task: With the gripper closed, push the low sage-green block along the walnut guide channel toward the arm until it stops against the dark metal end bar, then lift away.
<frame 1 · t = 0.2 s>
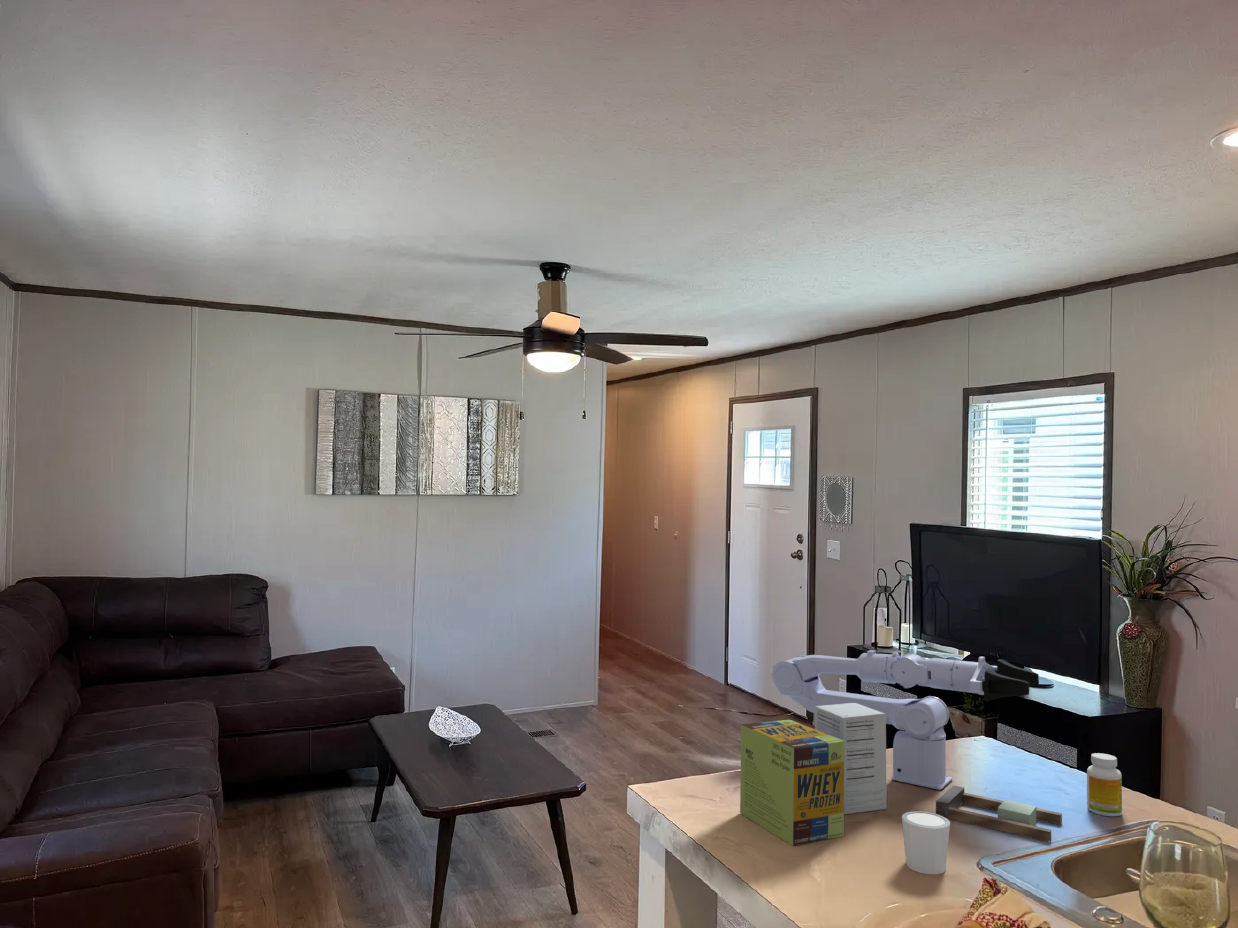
hand: (1033, 683, 155), 22 cm above the counter, tool horizontal, fingers open, 7 cm apart
guide channel: (998, 818, 147), on the counter
supplement bottle: (1104, 812, 151), on the counter
supplement box: (850, 804, 153), on the counter
protein box: (790, 826, 143), on the counter
white cup: (925, 867, 128), on the counter
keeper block: (1017, 824, 145), resting in guide channel
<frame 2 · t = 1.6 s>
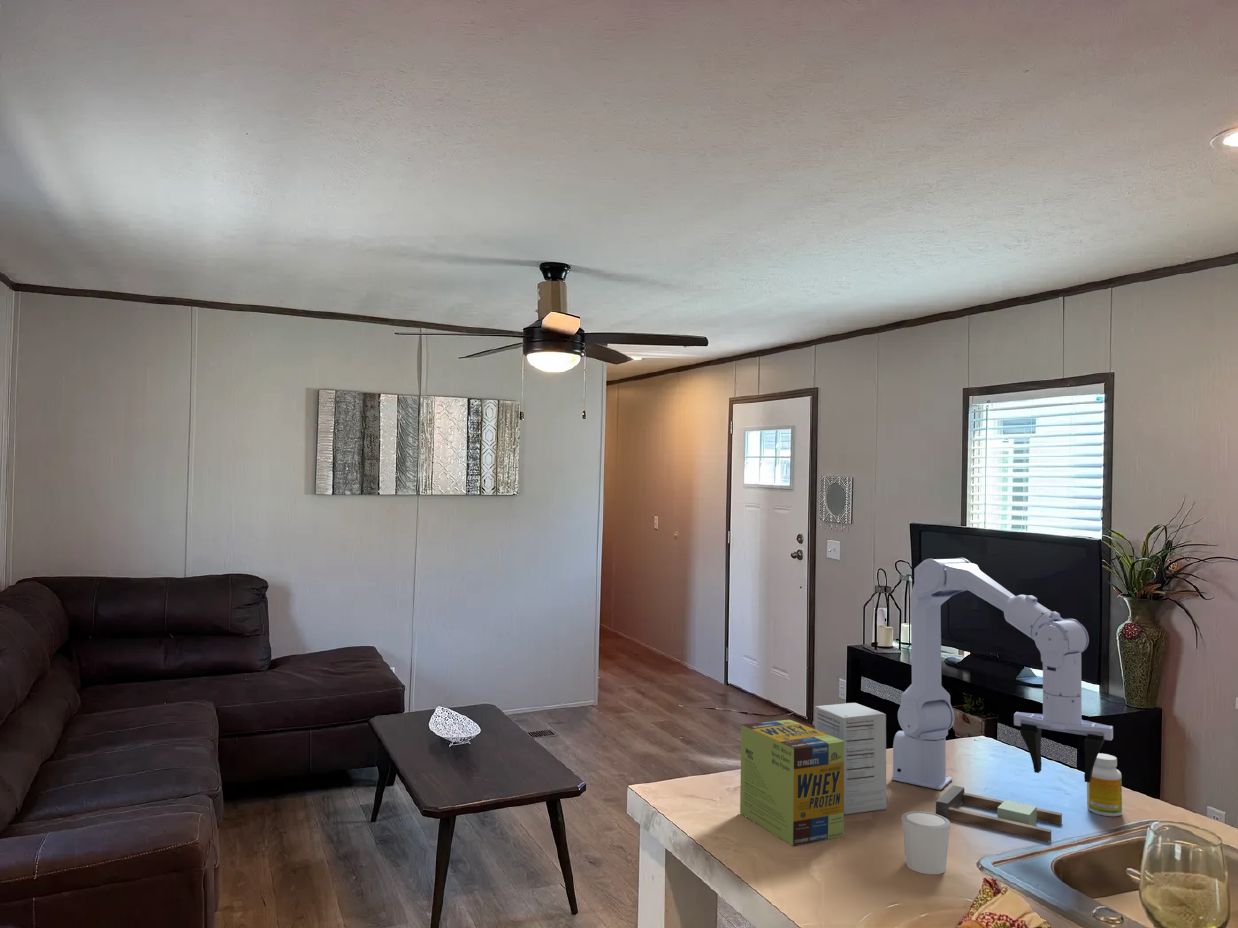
hand: (1062, 775, 141), 9 cm above the counter, tool pointing down, fingers open, 7 cm apart
nothing on the counter moved.
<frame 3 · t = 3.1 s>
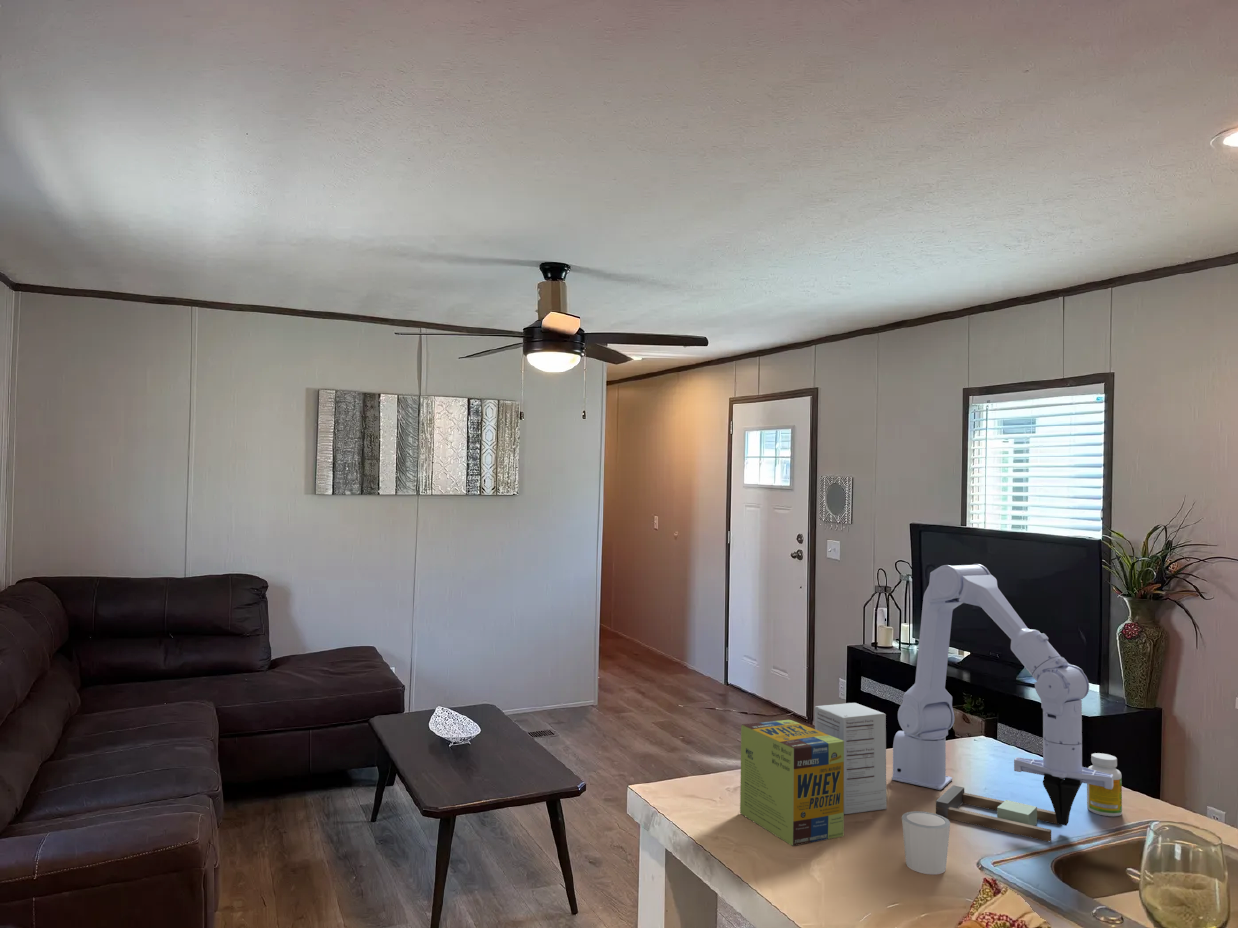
hand: (1062, 822, 141), 2 cm above the counter, tool pointing down, fingers closed
nothing on the counter moved.
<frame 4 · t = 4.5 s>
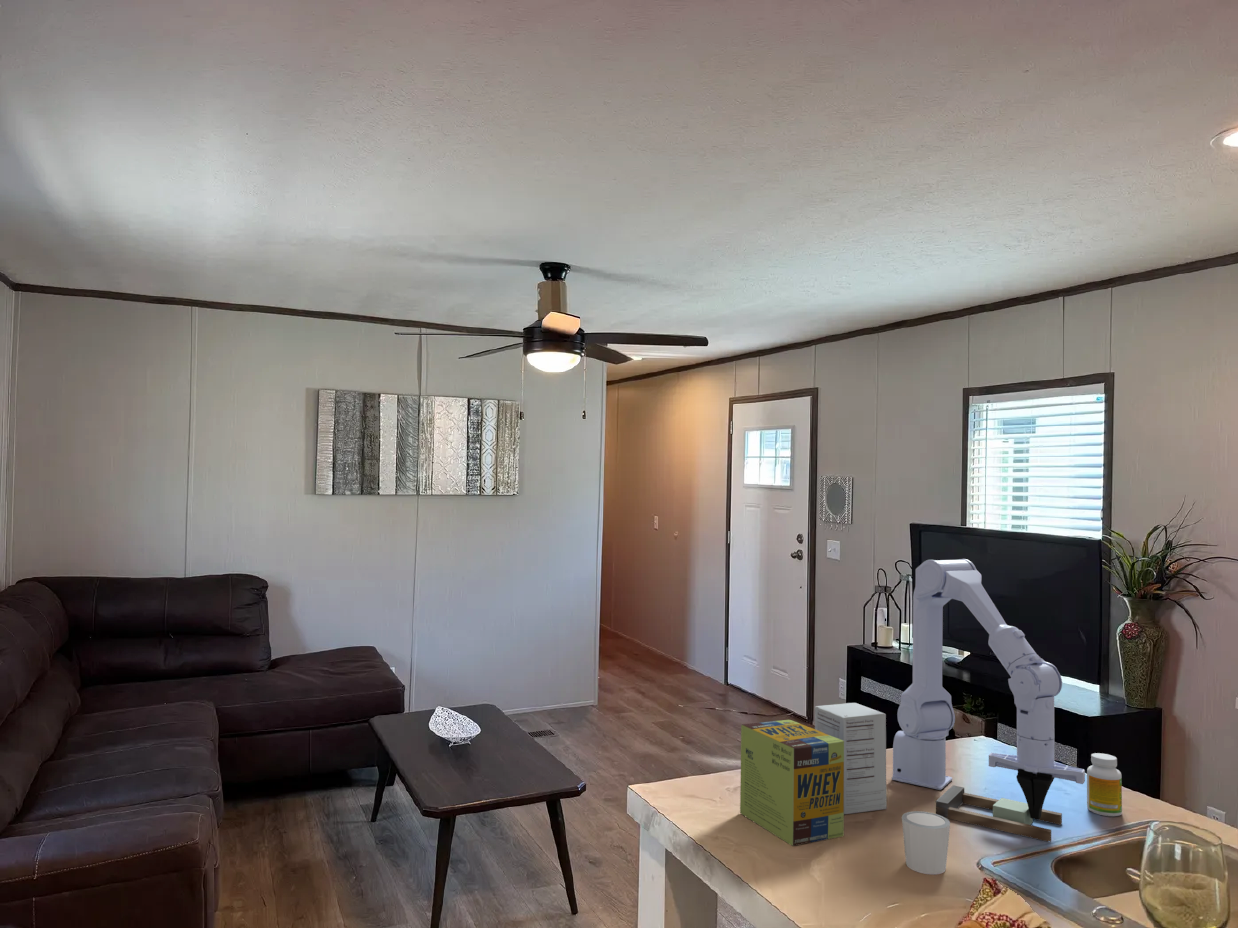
hand: (1035, 817, 143), 2 cm above the counter, tool pointing down, fingers closed
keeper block: (1012, 822, 145), resting in guide channel, touching gripper
everything else where it was.
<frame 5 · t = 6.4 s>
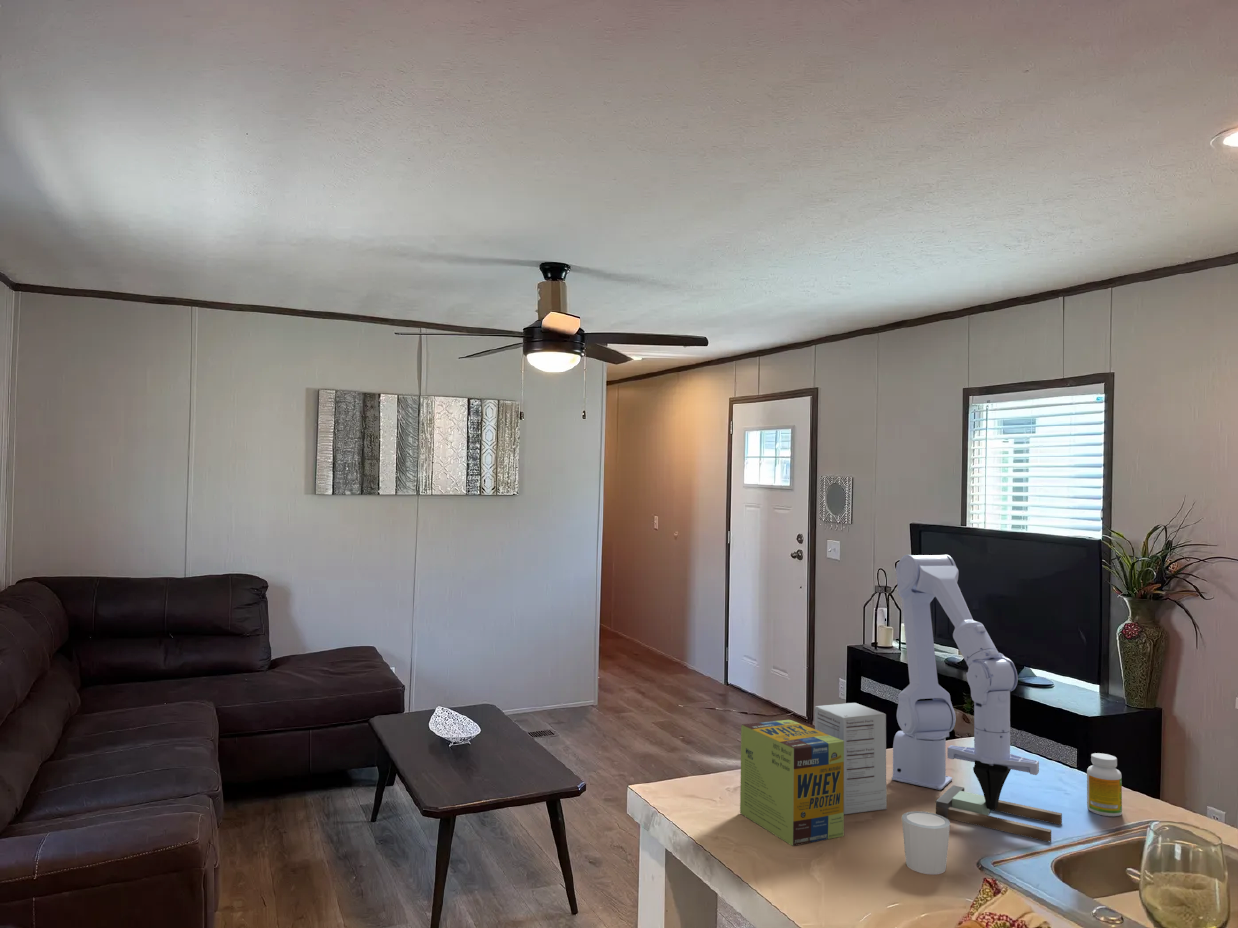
hand: (992, 807, 147), 2 cm above the counter, tool pointing down, fingers closed
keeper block: (970, 814, 149), resting in guide channel
everything else where it was.
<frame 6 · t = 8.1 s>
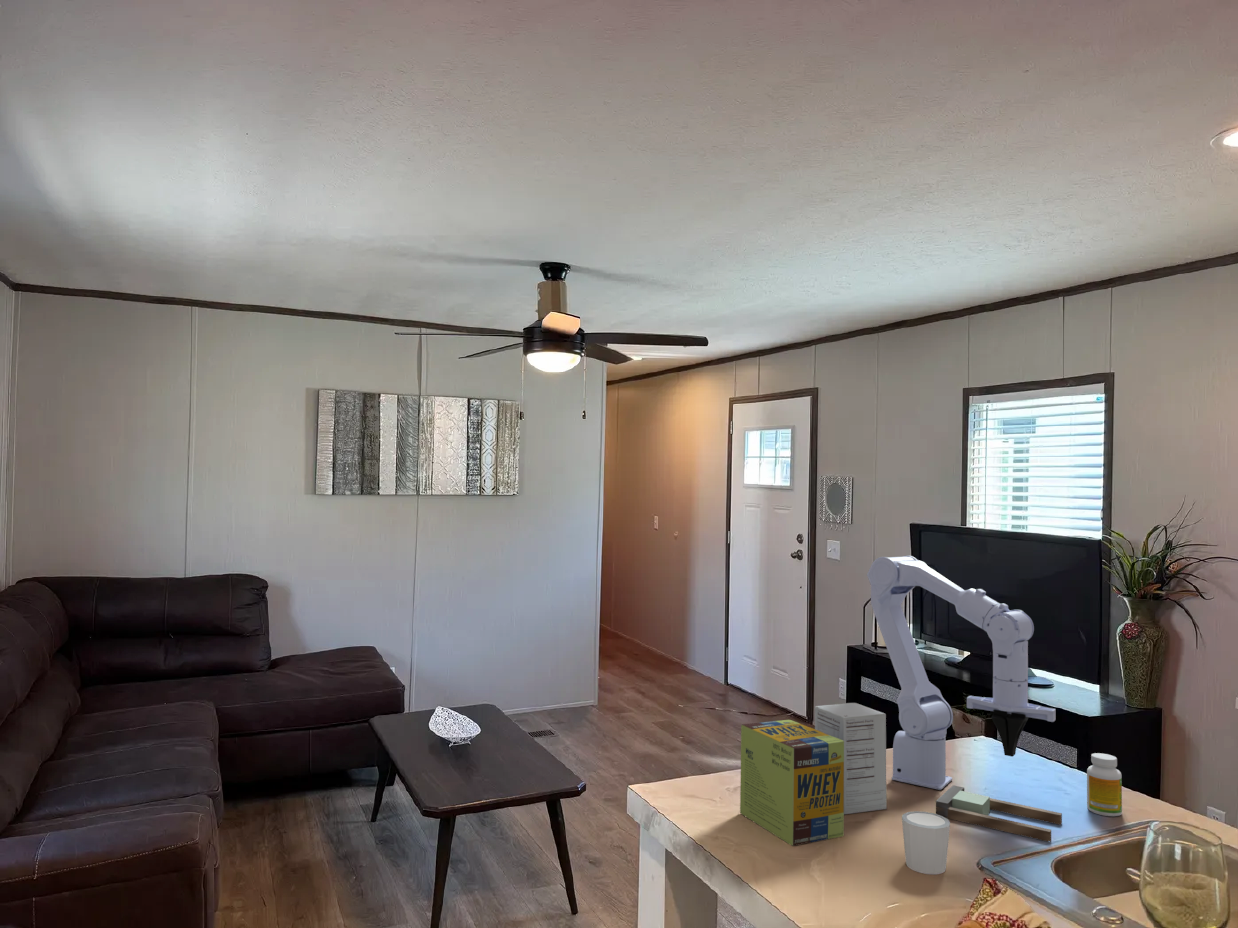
hand: (1009, 754, 153), 9 cm above the counter, tool pointing down, fingers closed
nothing on the counter moved.
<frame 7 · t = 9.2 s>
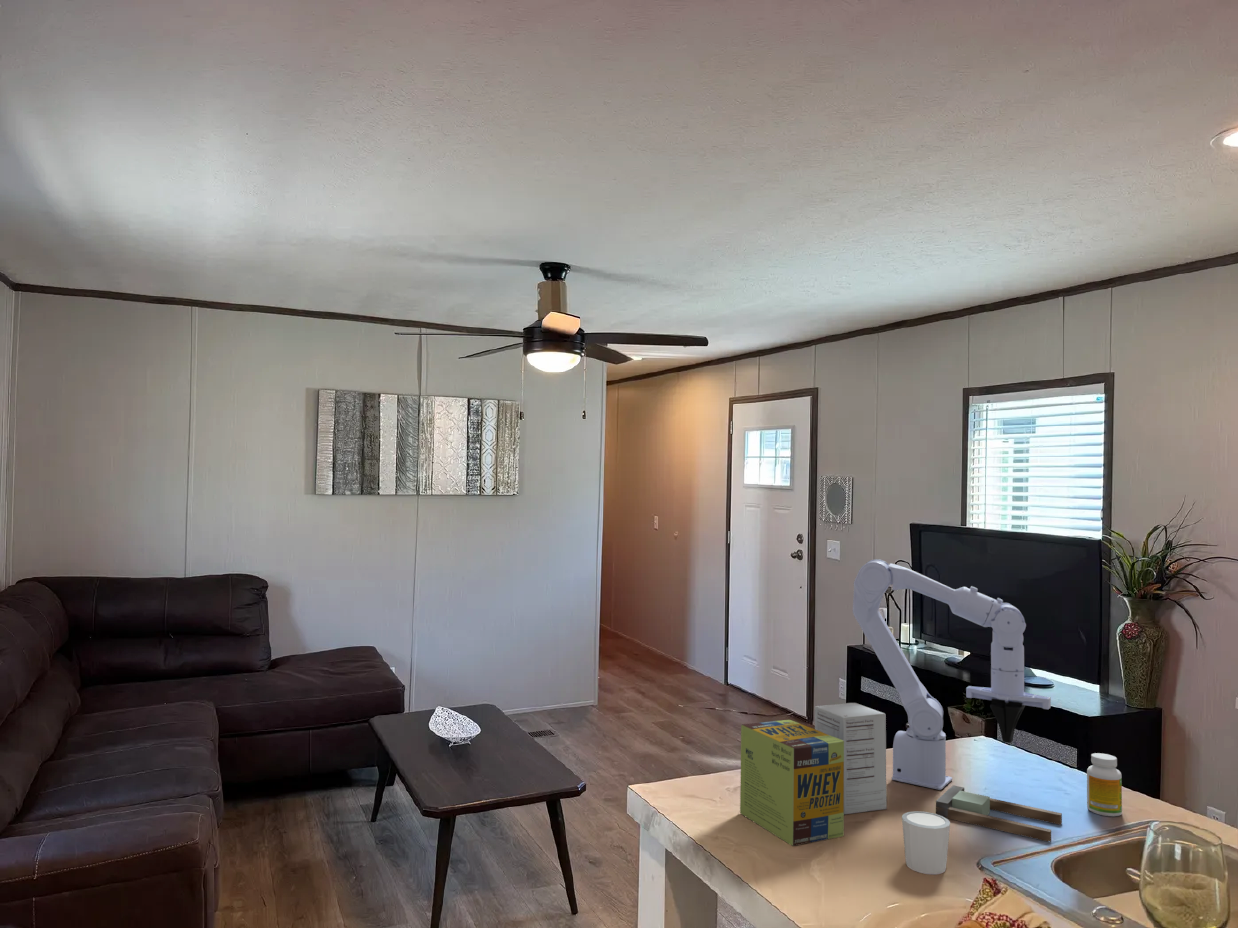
hand: (1007, 741, 161), 9 cm above the counter, tool pointing down, fingers closed
nothing on the counter moved.
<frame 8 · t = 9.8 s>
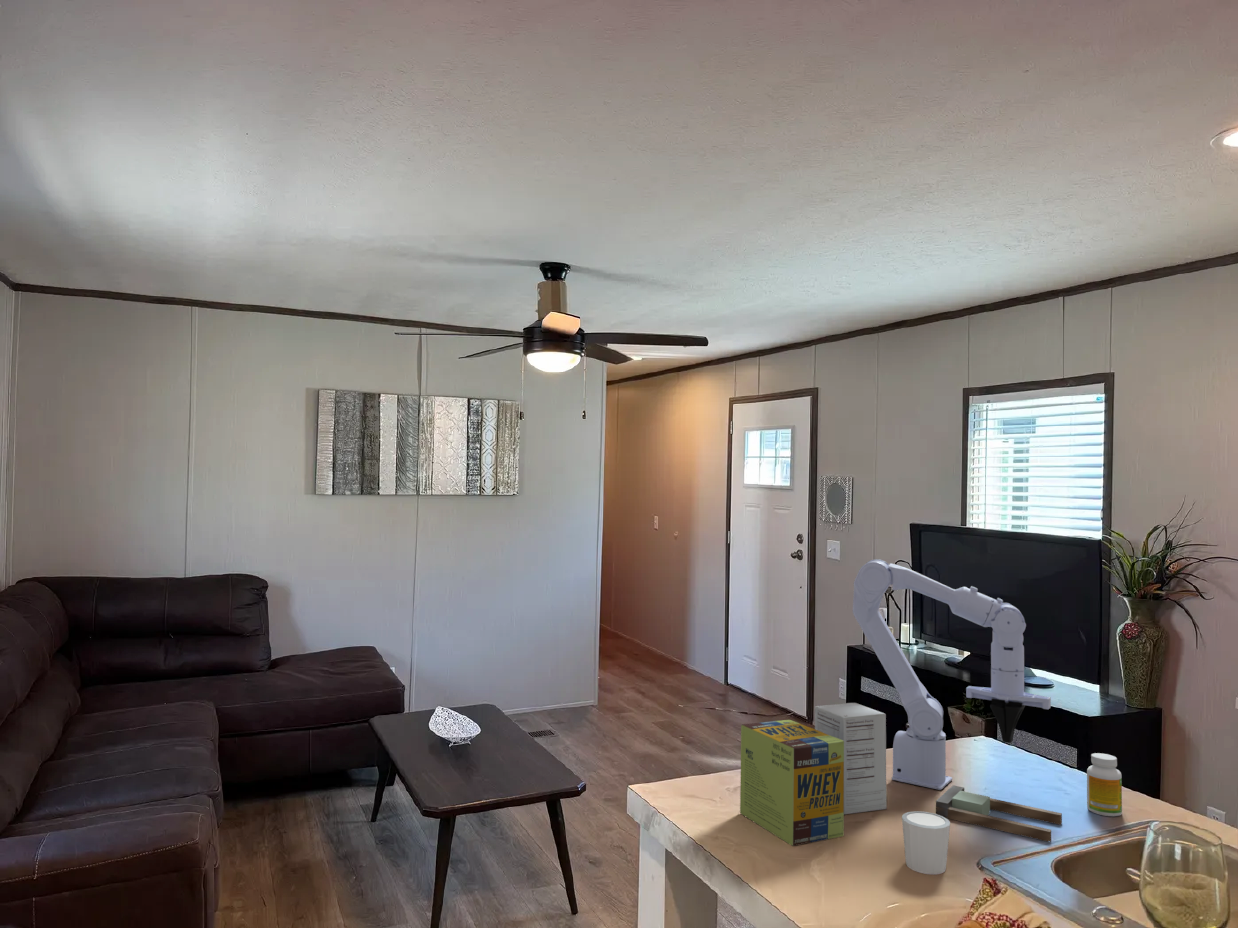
hand: (1007, 741, 161), 9 cm above the counter, tool pointing down, fingers closed
nothing on the counter moved.
at the end: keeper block 0.5 cm from the target spot, resting in guide channel; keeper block tilted 0°; the gripper is holding nothing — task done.
